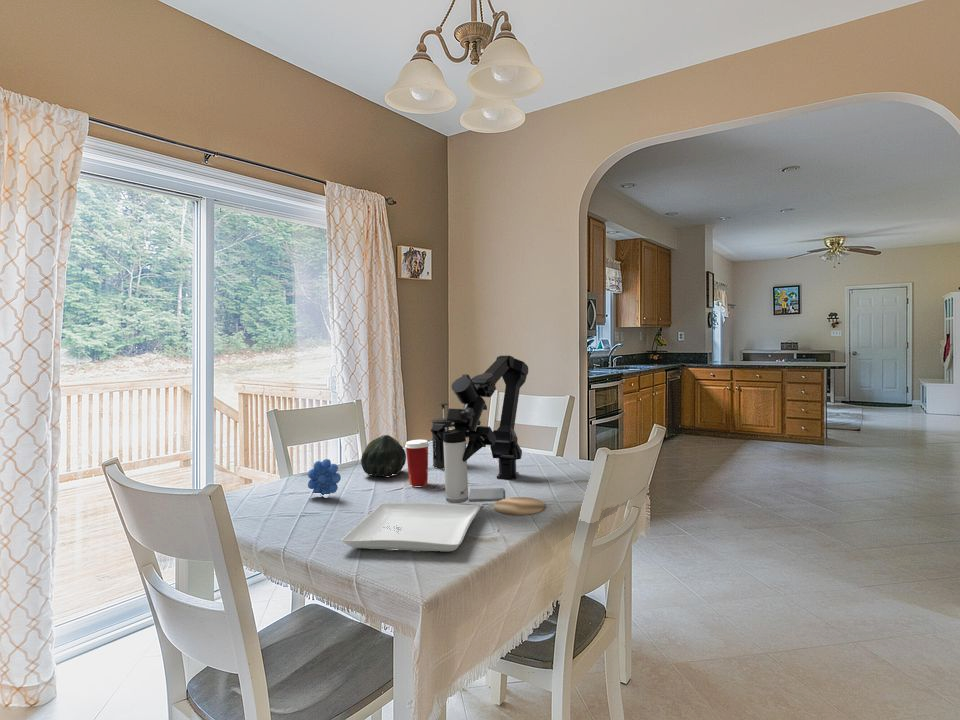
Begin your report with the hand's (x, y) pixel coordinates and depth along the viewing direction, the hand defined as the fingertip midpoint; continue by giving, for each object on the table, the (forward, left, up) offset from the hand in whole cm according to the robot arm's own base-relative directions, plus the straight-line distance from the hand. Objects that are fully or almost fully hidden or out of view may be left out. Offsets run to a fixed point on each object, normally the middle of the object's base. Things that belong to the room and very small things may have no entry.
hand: (453, 460), depth 146 cm
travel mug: (-1, 0, -12) cm, 12 cm away
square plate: (+19, -5, -14) cm, 24 cm away
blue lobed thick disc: (-6, -42, -13) cm, 44 cm away
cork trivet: (-3, +17, -13) cm, 22 cm away
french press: (-45, -16, -13) cm, 49 cm away
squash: (-32, -34, -13) cm, 48 cm away
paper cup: (-21, -18, -13) cm, 30 cm away
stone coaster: (-12, +6, -13) cm, 19 cm away
